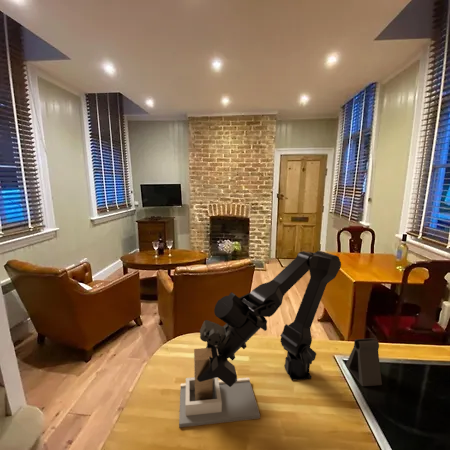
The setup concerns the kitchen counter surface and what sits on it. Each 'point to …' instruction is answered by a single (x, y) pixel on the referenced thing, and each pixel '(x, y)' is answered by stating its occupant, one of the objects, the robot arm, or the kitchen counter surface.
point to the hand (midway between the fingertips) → (198, 373)
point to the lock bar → (200, 363)
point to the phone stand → (365, 362)
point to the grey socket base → (217, 403)
